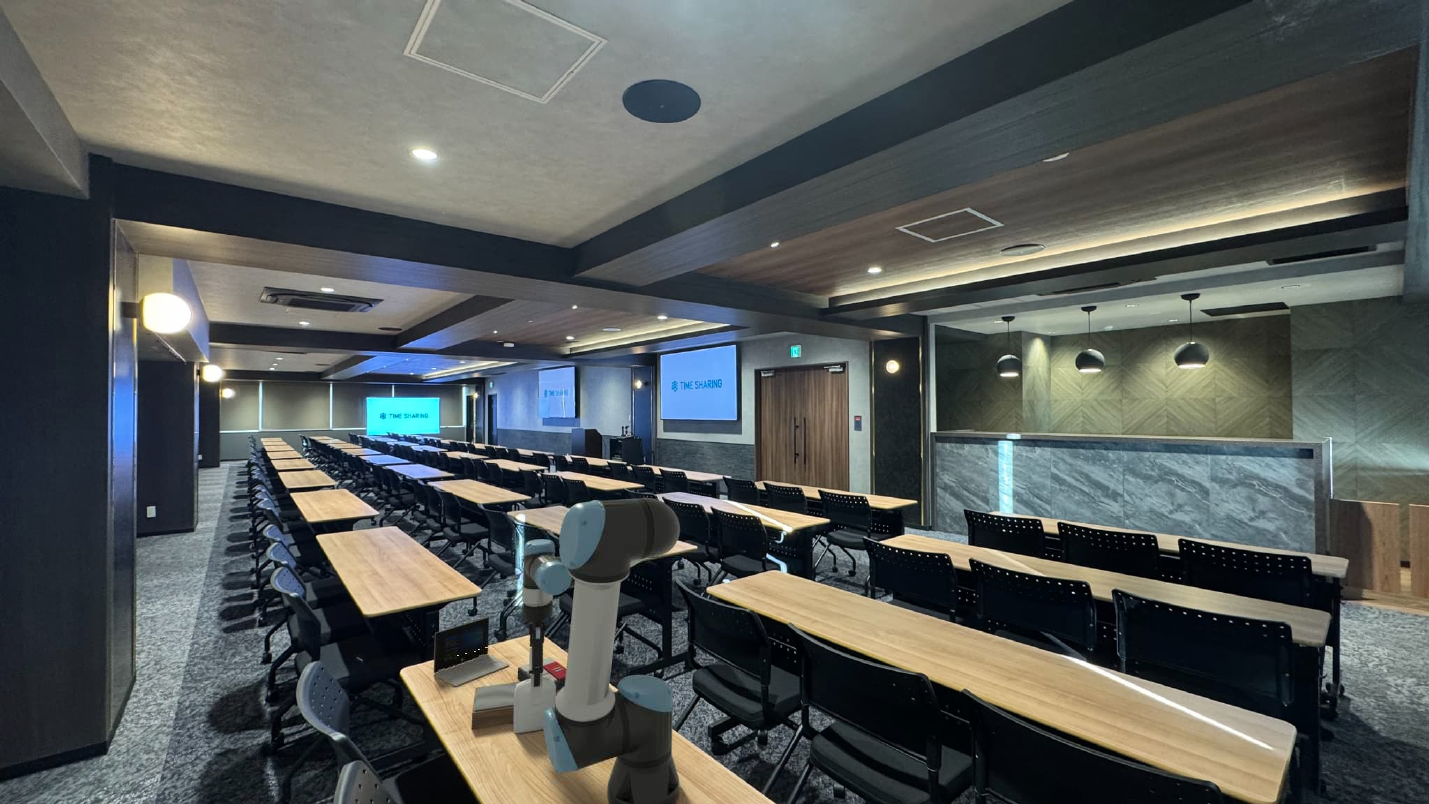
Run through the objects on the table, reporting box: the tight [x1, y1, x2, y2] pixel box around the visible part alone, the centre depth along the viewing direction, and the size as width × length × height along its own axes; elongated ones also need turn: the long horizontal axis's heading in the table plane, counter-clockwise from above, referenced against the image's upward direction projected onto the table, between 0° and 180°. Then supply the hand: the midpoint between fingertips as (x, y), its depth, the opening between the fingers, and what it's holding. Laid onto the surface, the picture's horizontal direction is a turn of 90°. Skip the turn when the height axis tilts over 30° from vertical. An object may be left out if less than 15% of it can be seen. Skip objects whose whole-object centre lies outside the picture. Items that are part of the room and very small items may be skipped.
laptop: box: [433, 616, 510, 687], centre depth 174 cm, size 18×12×13 cm
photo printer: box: [513, 677, 557, 734], centre depth 143 cm, size 10×4×12 cm, turn 109°
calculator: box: [517, 657, 567, 692], centre depth 168 cm, size 11×4×15 cm
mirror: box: [471, 681, 522, 730], centre depth 151 cm, size 14×14×4 cm
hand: (535, 685), depth 143 cm, fingers open, 13 cm apart
